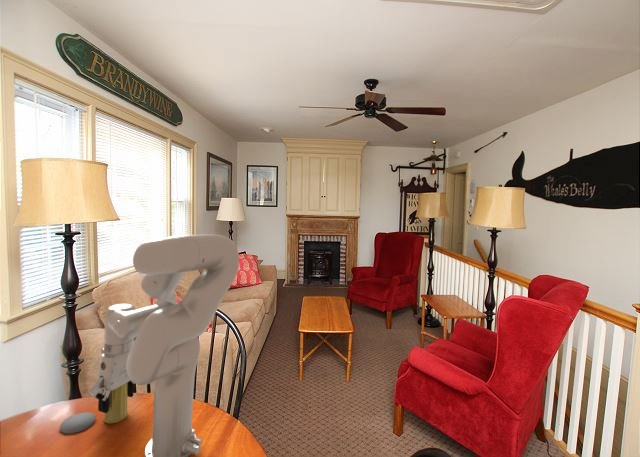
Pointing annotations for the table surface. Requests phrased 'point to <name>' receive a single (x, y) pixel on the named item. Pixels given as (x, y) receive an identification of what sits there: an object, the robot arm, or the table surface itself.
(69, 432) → the coaster
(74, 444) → the table surface
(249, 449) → the table surface
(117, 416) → the vase
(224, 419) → the table surface
